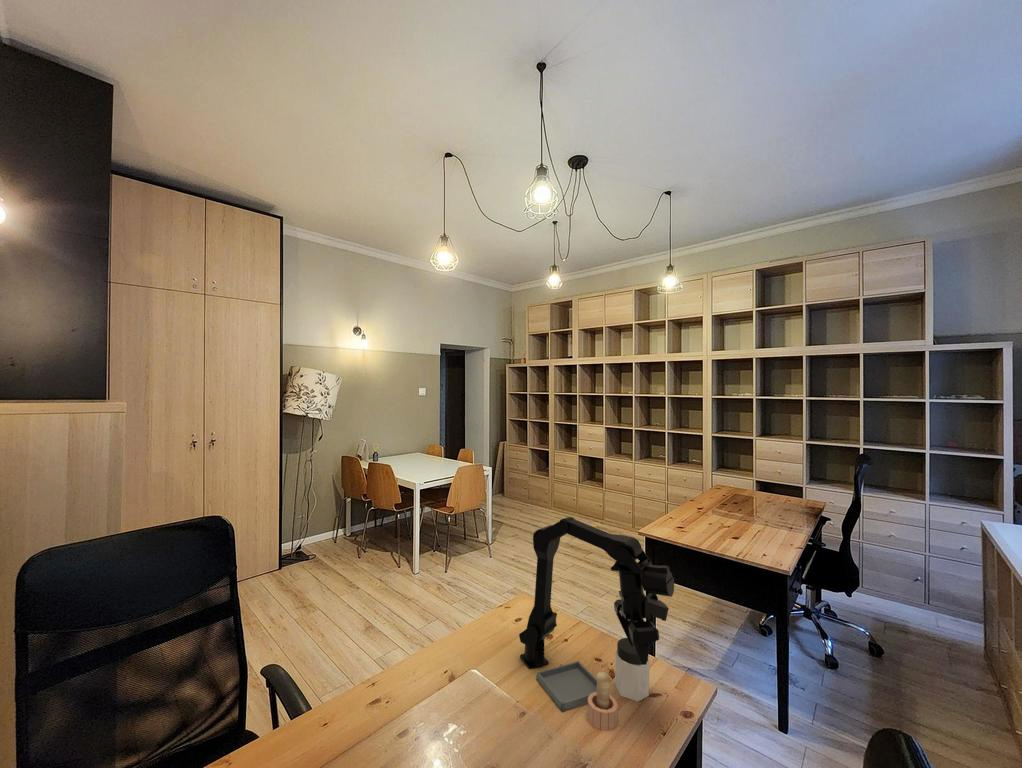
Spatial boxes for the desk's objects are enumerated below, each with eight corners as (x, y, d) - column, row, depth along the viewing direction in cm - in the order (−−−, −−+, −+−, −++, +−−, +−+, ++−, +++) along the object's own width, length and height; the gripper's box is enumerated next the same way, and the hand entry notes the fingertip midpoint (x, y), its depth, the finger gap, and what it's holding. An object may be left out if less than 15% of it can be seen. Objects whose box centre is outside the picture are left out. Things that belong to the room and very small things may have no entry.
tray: (536, 681, 112) (536, 672, 112) (578, 669, 118) (578, 660, 118) (561, 714, 101) (562, 704, 101) (607, 699, 107) (607, 689, 107)
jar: (632, 707, 104) (633, 659, 105) (608, 688, 111) (609, 642, 112) (654, 695, 109) (655, 649, 110) (630, 677, 116) (631, 634, 117)
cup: (581, 715, 101) (582, 696, 101) (604, 707, 104) (604, 689, 104) (599, 736, 94) (600, 716, 95) (623, 727, 97) (623, 707, 98)
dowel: (593, 716, 100) (594, 673, 100) (603, 712, 101) (604, 670, 102) (601, 724, 97) (602, 681, 98) (610, 721, 98) (612, 678, 99)
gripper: (677, 601, 96) (685, 673, 94) (650, 575, 115) (656, 635, 113) (630, 604, 96) (637, 676, 94) (611, 578, 115) (616, 637, 113)
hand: (638, 654), depth 103 cm, fingers open, 9 cm apart
